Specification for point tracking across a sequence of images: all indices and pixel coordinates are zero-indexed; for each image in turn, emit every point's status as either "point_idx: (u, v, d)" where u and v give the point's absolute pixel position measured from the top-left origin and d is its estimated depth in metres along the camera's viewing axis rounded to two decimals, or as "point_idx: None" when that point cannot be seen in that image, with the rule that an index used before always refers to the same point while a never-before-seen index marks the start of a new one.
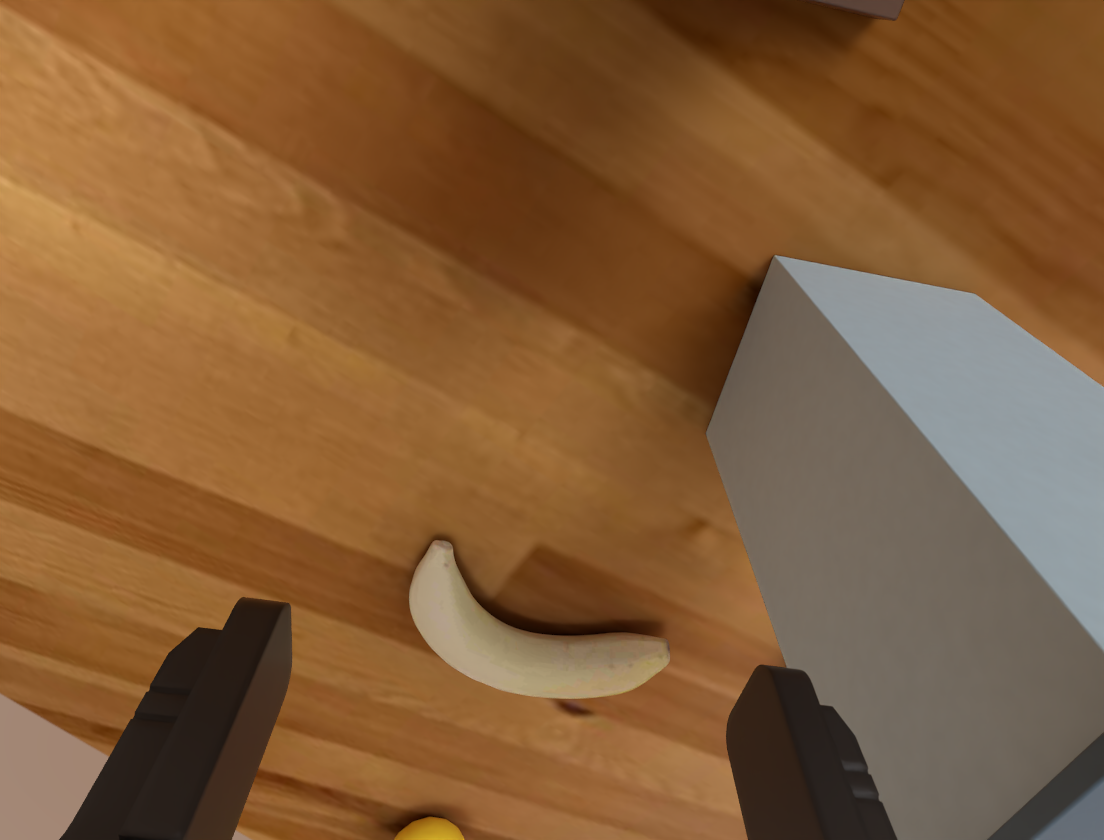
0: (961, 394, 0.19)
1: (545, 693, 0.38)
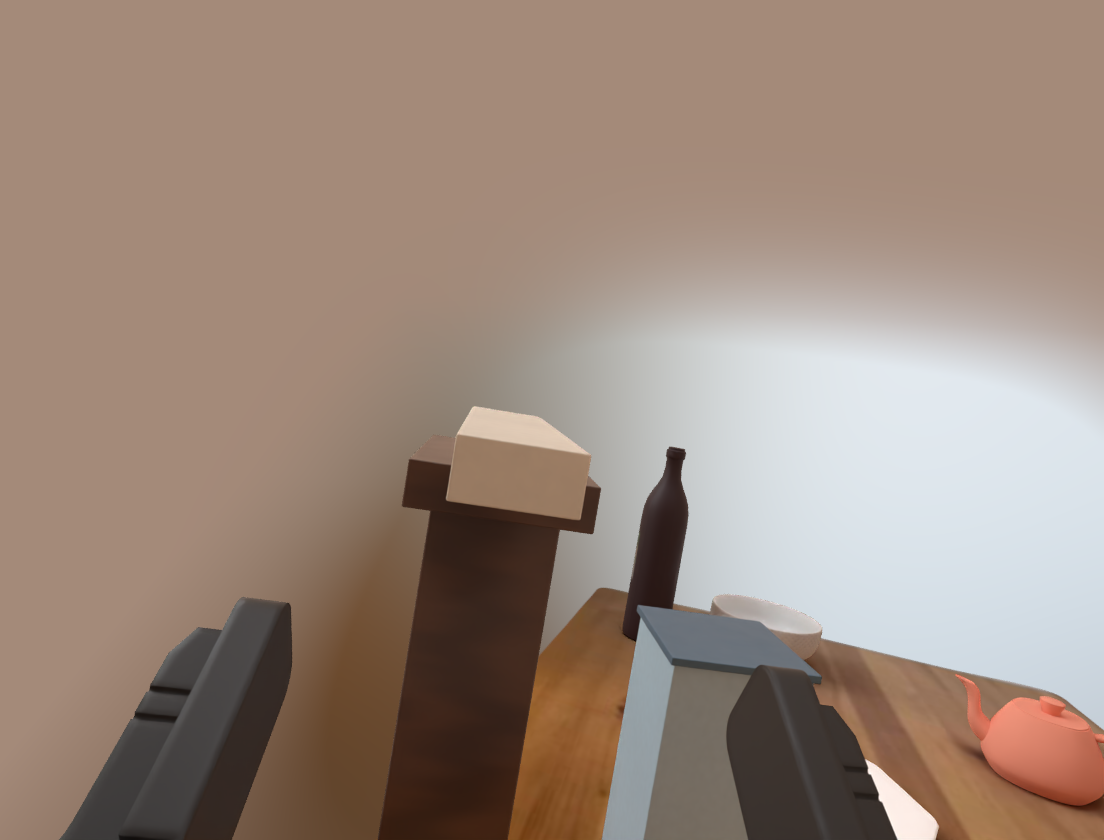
0: (637, 797, 0.44)
1: None
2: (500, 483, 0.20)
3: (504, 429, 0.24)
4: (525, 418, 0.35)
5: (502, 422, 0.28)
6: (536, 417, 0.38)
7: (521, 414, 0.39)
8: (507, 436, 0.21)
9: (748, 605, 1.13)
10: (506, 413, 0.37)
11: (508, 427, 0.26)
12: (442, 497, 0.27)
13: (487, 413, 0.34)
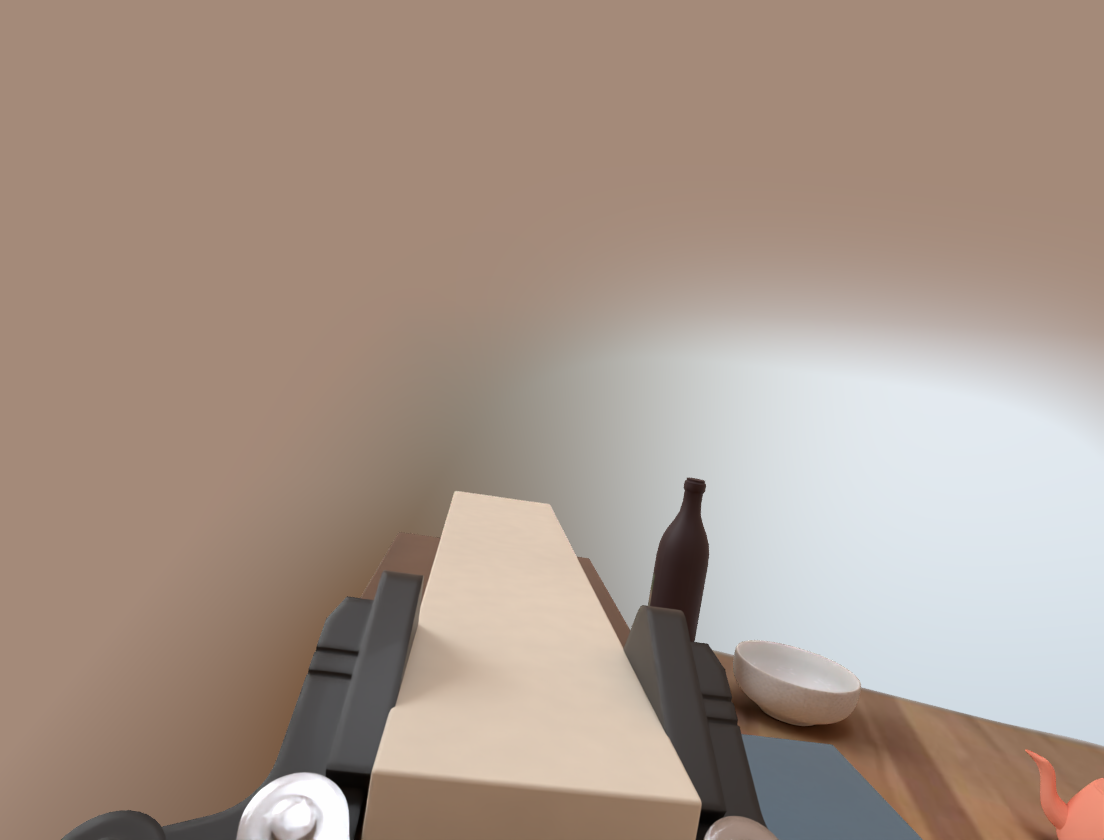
0: None
1: None
2: None
3: (495, 633, 0.13)
4: (530, 523, 0.23)
5: (494, 573, 0.17)
6: (545, 509, 0.27)
7: (523, 503, 0.27)
8: (500, 710, 0.10)
9: (774, 652, 1.01)
10: (502, 508, 0.25)
11: (503, 608, 0.14)
12: None
13: (472, 522, 0.22)
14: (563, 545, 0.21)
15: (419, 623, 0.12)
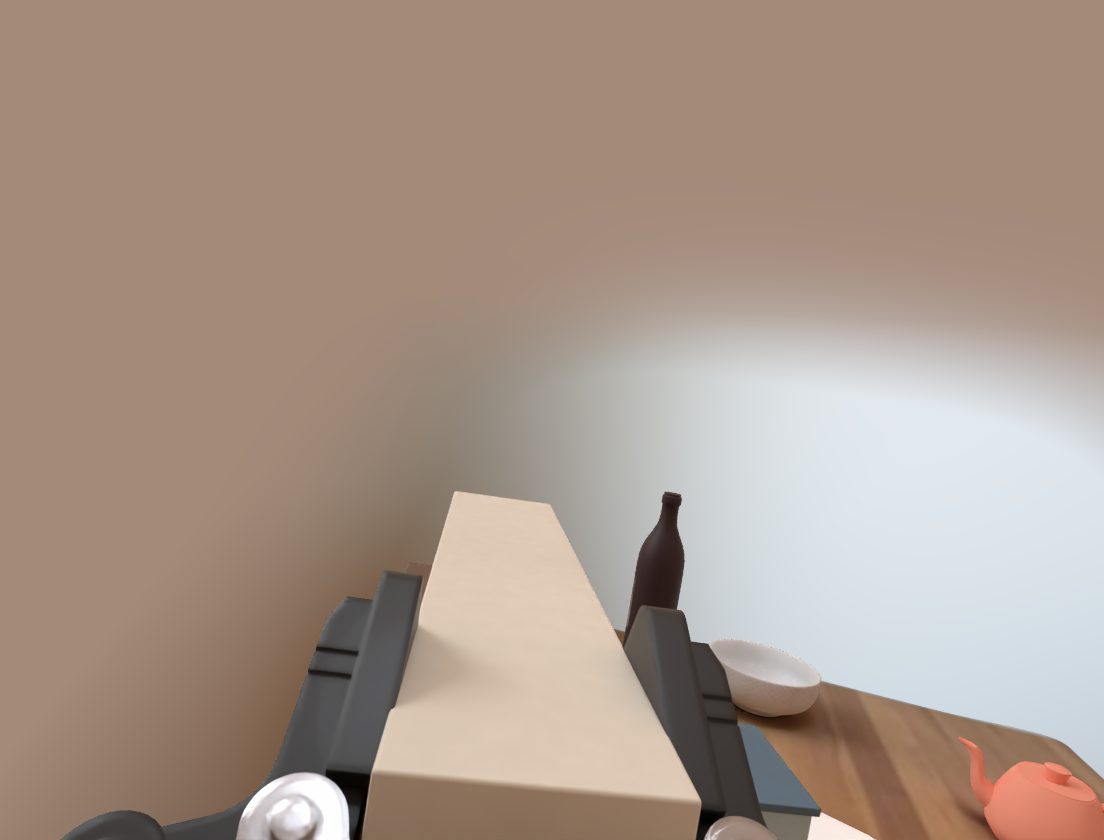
0: None
1: None
2: None
3: (495, 634, 0.13)
4: (530, 523, 0.23)
5: (494, 573, 0.17)
6: (545, 509, 0.27)
7: (523, 503, 0.27)
8: (500, 710, 0.10)
9: (746, 650, 1.11)
10: (502, 508, 0.25)
11: (503, 608, 0.14)
12: None
13: (472, 523, 0.22)
14: (563, 545, 0.21)
15: (419, 623, 0.12)
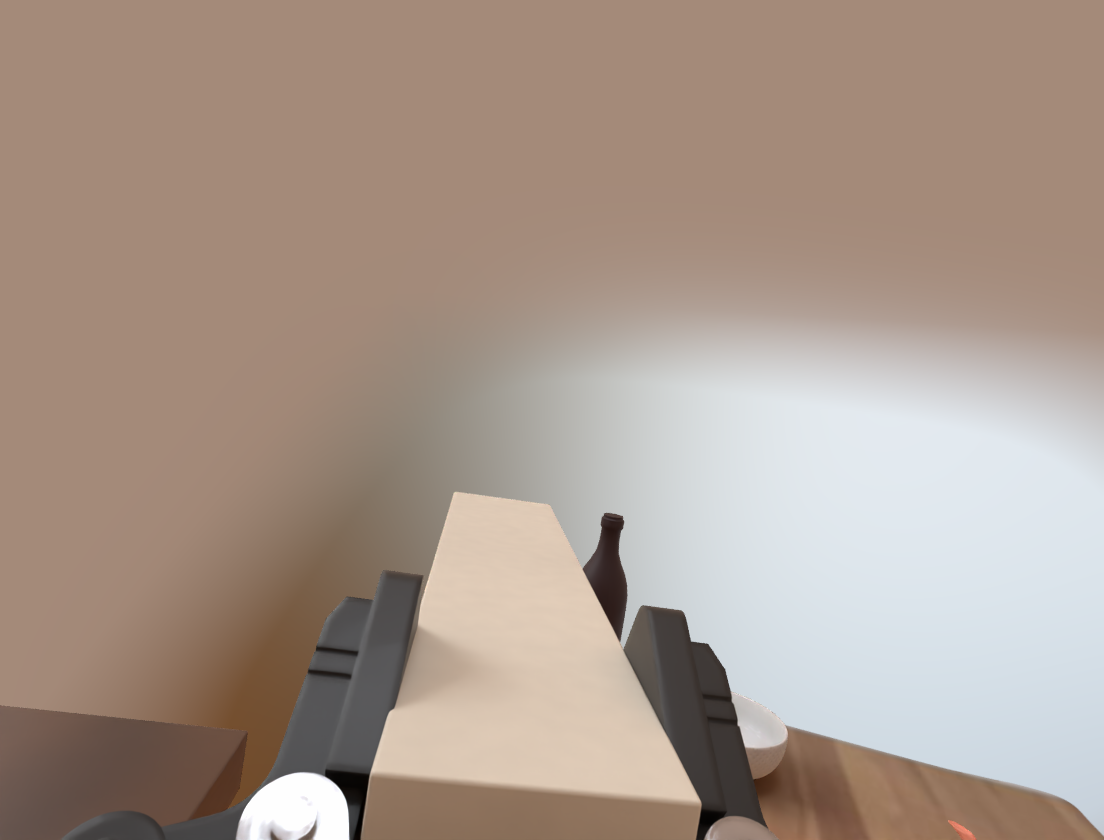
0: None
1: None
2: None
3: (495, 634, 0.13)
4: (530, 523, 0.23)
5: (493, 573, 0.17)
6: (545, 509, 0.27)
7: (523, 503, 0.27)
8: (499, 711, 0.10)
9: None
10: (501, 508, 0.25)
11: (503, 609, 0.14)
12: None
13: (472, 523, 0.22)
14: (563, 545, 0.21)
15: (418, 624, 0.12)
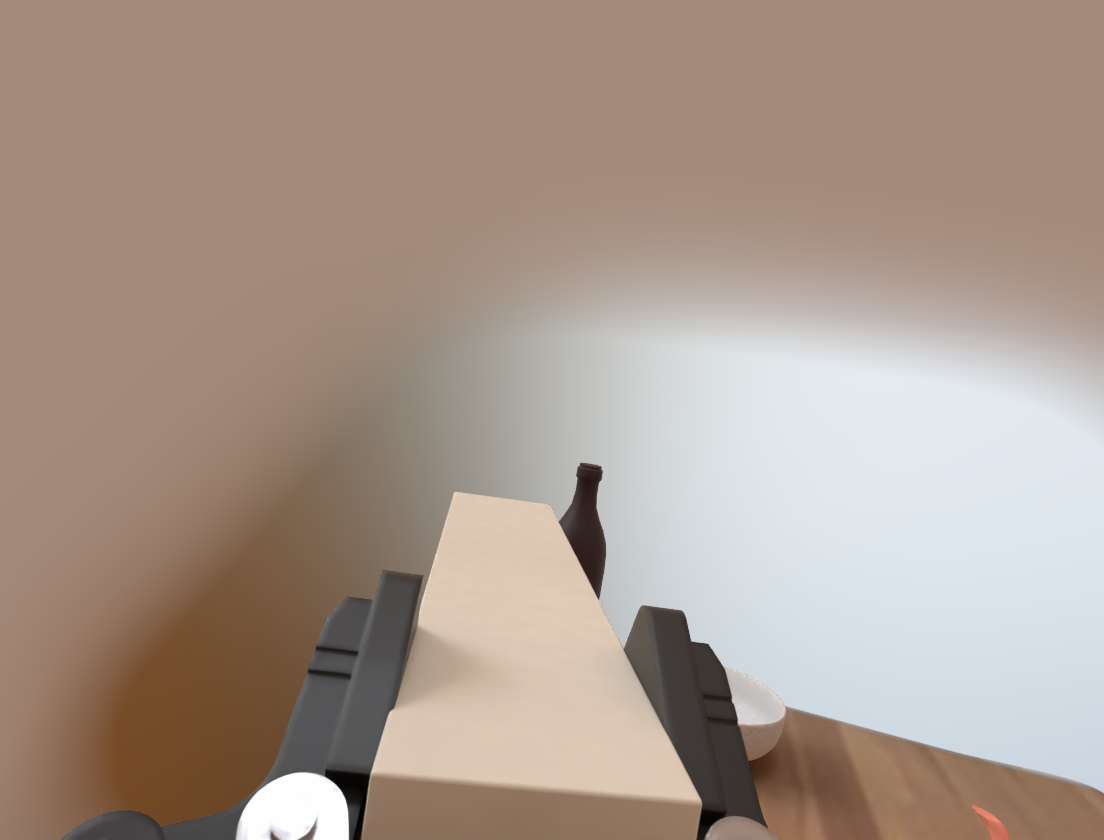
0: None
1: None
2: None
3: (495, 635, 0.13)
4: (530, 523, 0.23)
5: (493, 573, 0.17)
6: (545, 509, 0.27)
7: (523, 503, 0.27)
8: (499, 711, 0.10)
9: None
10: (501, 508, 0.25)
11: (503, 609, 0.14)
12: None
13: (472, 523, 0.22)
14: (563, 545, 0.21)
15: (418, 625, 0.12)
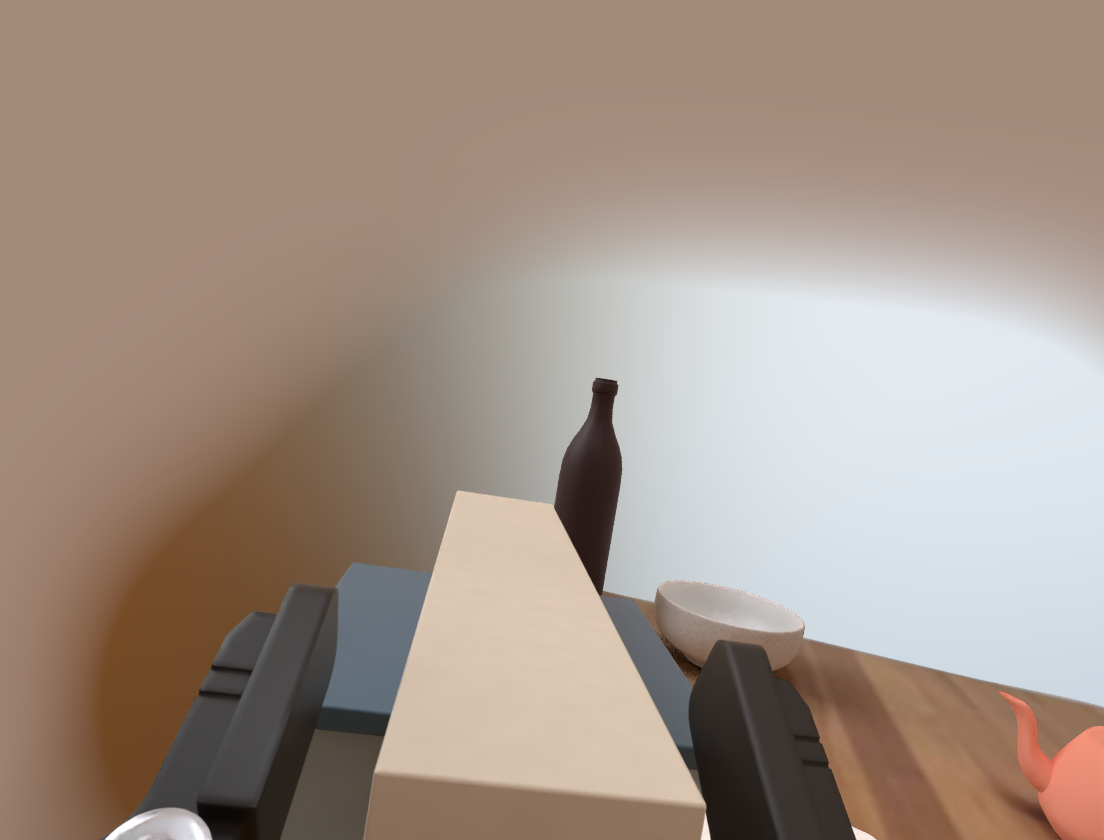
0: None
1: None
2: None
3: (498, 634, 0.12)
4: (533, 523, 0.23)
5: (496, 573, 0.16)
6: (547, 509, 0.27)
7: (526, 503, 0.27)
8: (503, 710, 0.10)
9: (708, 595, 0.85)
10: (504, 508, 0.25)
11: (506, 608, 0.14)
12: None
13: (475, 522, 0.22)
14: (566, 545, 0.21)
15: (421, 623, 0.12)
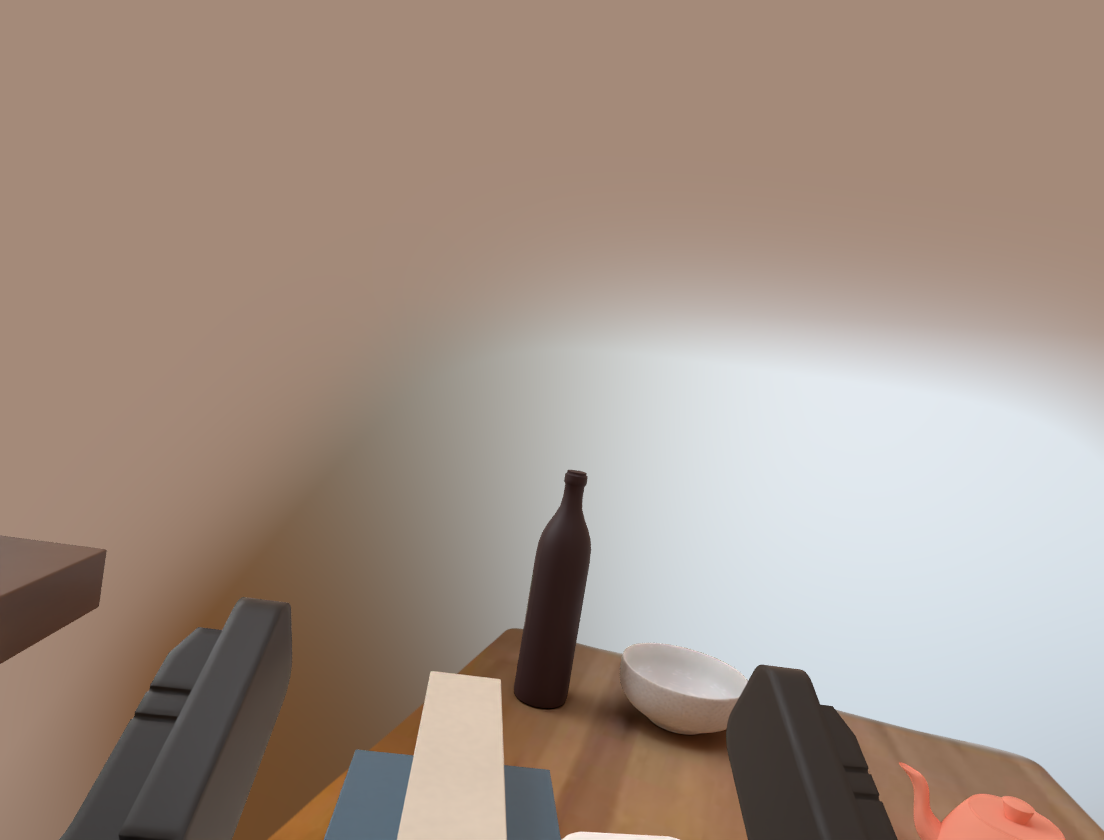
0: None
1: None
2: None
3: None
4: (480, 716, 0.34)
5: (444, 795, 0.27)
6: (495, 689, 0.37)
7: (480, 681, 0.38)
8: None
9: (670, 655, 0.96)
10: (462, 694, 0.36)
11: (444, 838, 0.24)
12: None
13: (438, 724, 0.32)
14: (497, 747, 0.31)
15: None
